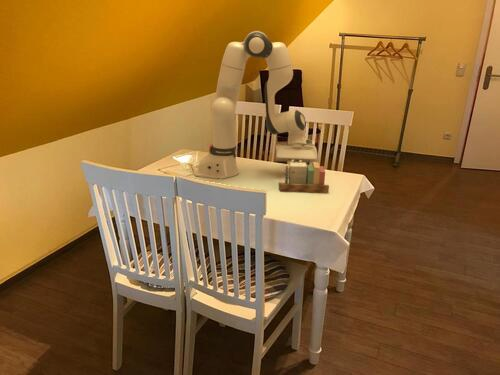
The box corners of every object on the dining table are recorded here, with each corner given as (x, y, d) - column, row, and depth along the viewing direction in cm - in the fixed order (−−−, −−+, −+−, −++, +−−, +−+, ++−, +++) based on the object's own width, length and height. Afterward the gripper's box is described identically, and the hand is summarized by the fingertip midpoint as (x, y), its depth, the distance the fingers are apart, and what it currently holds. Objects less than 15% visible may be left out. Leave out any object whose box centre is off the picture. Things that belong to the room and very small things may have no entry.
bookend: (278, 190, 194) (279, 171, 191) (278, 183, 202) (279, 165, 199) (287, 190, 194) (288, 172, 191) (287, 184, 202) (287, 166, 199)
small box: (305, 183, 203) (306, 162, 199) (306, 187, 198) (307, 166, 194) (288, 183, 203) (289, 162, 200) (288, 187, 198) (289, 165, 194)
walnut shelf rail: (279, 191, 193) (280, 184, 192) (279, 190, 194) (280, 183, 193) (328, 193, 192) (329, 186, 190) (328, 192, 193) (328, 184, 192)
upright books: (307, 191, 194) (308, 167, 189) (305, 184, 201) (307, 161, 197) (323, 191, 193) (325, 167, 189) (321, 185, 201) (323, 162, 197)
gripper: (275, 139, 207) (274, 165, 202) (317, 141, 206) (318, 166, 201) (275, 146, 213) (274, 170, 207) (316, 147, 212) (316, 172, 206)
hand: (296, 168), depth 204 cm, fingers closed
